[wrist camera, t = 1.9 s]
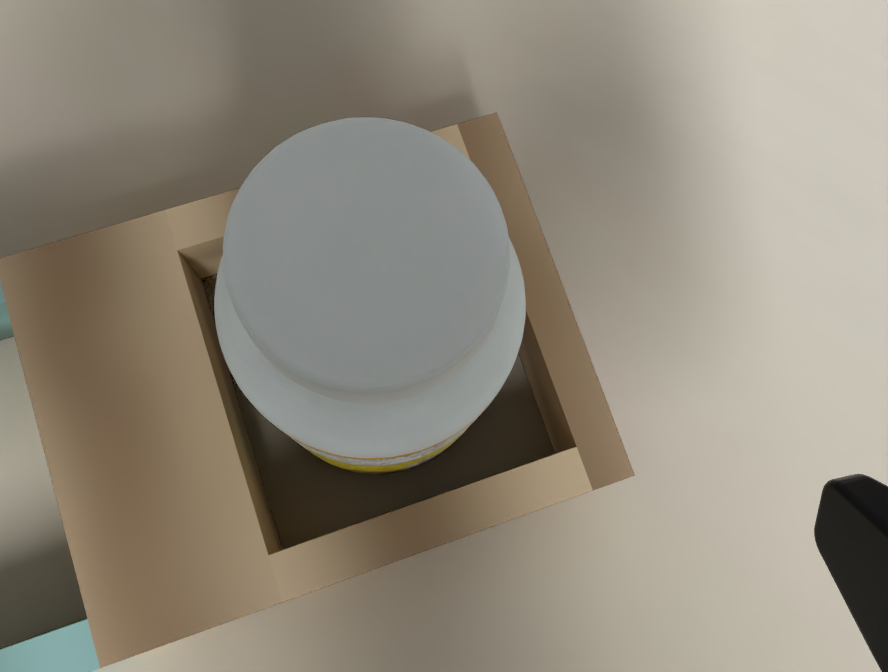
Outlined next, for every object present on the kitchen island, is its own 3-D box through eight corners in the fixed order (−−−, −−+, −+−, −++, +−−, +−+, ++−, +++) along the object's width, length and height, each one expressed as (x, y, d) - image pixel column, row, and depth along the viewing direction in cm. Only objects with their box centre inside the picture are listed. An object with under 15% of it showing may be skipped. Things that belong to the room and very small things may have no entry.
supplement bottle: (472, 486, 20) (544, 470, 11) (253, 462, 20) (134, 425, 11) (492, 275, 21) (574, 97, 12) (285, 250, 21) (202, 48, 12)
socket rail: (484, 154, 22) (497, 112, 20) (606, 478, 21) (634, 475, 18) (-301, 389, 20) (-395, 374, 17) (-228, 778, 18) (-320, 819, 16)
